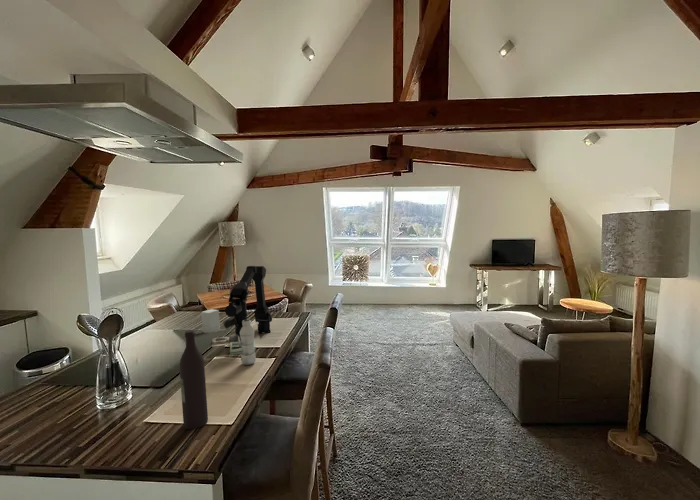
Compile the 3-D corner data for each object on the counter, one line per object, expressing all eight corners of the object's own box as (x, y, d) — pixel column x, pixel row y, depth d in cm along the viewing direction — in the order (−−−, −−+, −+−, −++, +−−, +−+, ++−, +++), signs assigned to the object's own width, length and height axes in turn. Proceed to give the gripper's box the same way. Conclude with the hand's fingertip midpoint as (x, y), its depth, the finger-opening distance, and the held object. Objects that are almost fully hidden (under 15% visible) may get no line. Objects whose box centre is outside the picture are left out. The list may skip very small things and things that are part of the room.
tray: (254, 344, 180) (254, 339, 180) (255, 351, 169) (255, 346, 169) (230, 347, 176) (230, 342, 176) (230, 355, 165) (229, 350, 165)
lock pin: (246, 346, 175) (245, 331, 175) (246, 349, 171) (246, 333, 171) (238, 347, 174) (237, 332, 173) (238, 350, 170) (237, 335, 170)
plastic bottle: (238, 366, 152) (235, 322, 150) (246, 360, 158) (244, 318, 157) (251, 367, 150) (248, 323, 149) (258, 361, 157) (256, 318, 155)
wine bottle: (196, 415, 113) (190, 327, 110) (212, 419, 110) (207, 329, 108) (178, 427, 106) (171, 333, 104) (195, 432, 103) (189, 336, 101)
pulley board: (247, 337, 192) (246, 329, 192) (248, 344, 180) (247, 336, 179) (213, 341, 186) (212, 333, 186) (211, 349, 174) (211, 341, 174)
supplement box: (220, 330, 206) (219, 310, 205) (209, 334, 200) (208, 313, 199) (212, 328, 210) (211, 308, 209) (202, 332, 204) (200, 311, 203)
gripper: (224, 309, 177) (225, 338, 179) (223, 318, 160) (225, 350, 161) (246, 306, 181) (247, 335, 182) (247, 315, 163) (249, 347, 165)
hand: (242, 341), depth 172 cm, fingers open, 9 cm apart
